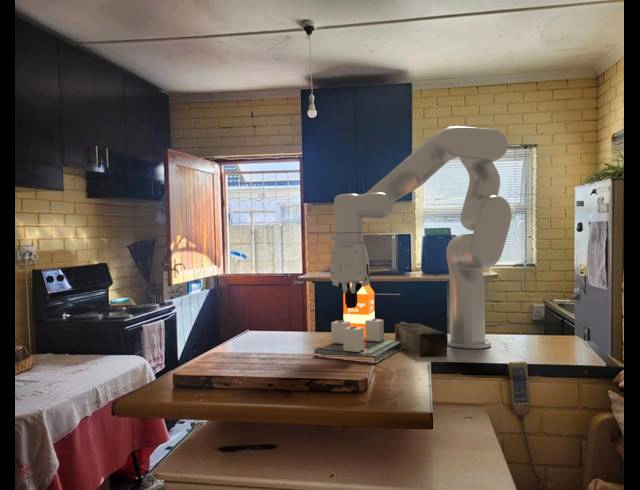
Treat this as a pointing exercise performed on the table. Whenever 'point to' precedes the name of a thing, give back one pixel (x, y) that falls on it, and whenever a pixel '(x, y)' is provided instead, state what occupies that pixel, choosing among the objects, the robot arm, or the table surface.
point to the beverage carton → (421, 339)
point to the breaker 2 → (374, 330)
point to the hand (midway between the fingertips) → (351, 307)
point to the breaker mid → (338, 331)
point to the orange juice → (360, 308)
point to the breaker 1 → (353, 338)
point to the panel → (370, 350)
